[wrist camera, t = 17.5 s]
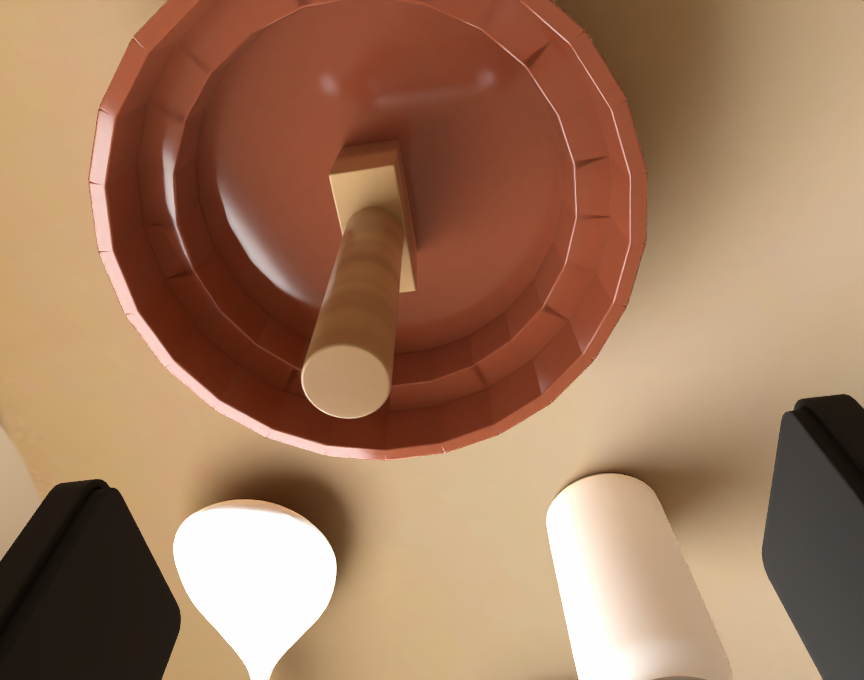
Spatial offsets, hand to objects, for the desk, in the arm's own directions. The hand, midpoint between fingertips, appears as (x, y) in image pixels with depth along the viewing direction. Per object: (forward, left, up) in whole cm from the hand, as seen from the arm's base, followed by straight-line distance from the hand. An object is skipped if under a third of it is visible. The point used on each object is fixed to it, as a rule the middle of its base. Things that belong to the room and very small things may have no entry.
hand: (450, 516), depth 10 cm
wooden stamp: (+2, -3, -20) cm, 21 cm away
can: (+21, +6, -21) cm, 31 cm away
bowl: (+1, -3, -21) cm, 21 cm away
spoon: (+31, -16, -21) cm, 41 cm away
